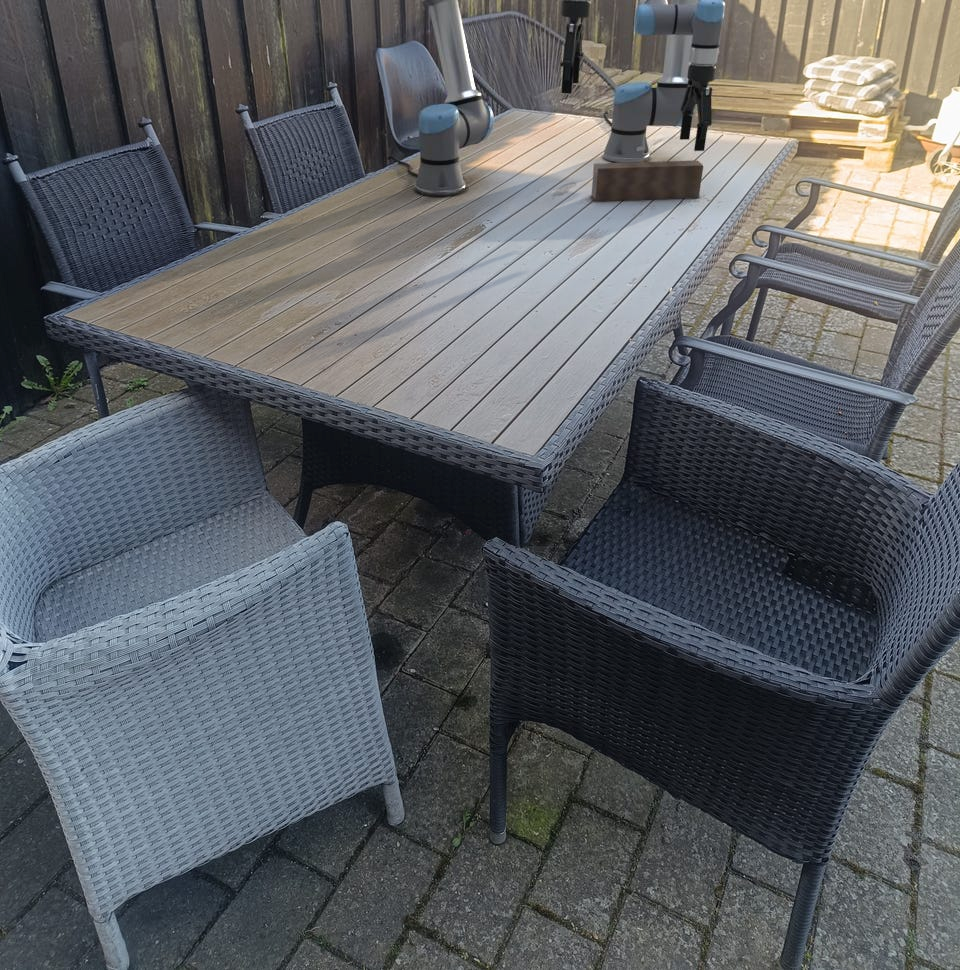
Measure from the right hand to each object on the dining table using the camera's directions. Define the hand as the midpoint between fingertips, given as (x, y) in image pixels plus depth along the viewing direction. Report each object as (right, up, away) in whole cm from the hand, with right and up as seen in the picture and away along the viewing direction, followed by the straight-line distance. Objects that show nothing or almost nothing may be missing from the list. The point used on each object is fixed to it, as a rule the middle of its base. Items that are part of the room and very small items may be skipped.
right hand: (691, 144), depth 245 cm
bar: (-12, -13, +8) cm, 19 cm away
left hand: (-37, +10, -14) cm, 41 cm away
